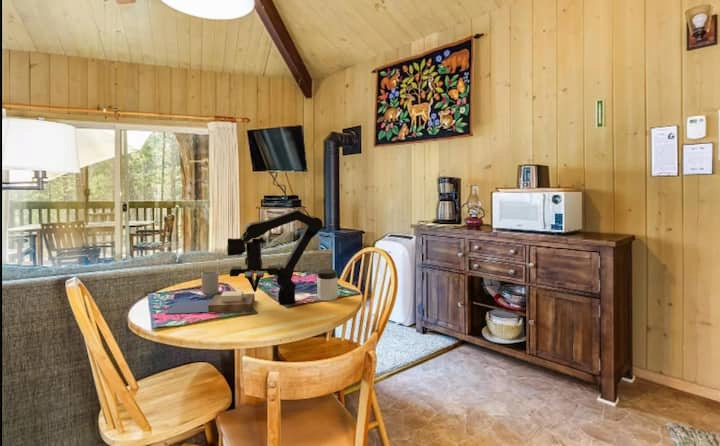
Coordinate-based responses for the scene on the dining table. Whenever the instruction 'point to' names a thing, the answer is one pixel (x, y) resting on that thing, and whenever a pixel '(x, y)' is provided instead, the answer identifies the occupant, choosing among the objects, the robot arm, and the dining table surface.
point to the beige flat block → (232, 296)
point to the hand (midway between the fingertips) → (255, 291)
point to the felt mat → (189, 307)
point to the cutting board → (231, 304)
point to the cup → (210, 282)
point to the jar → (327, 284)
